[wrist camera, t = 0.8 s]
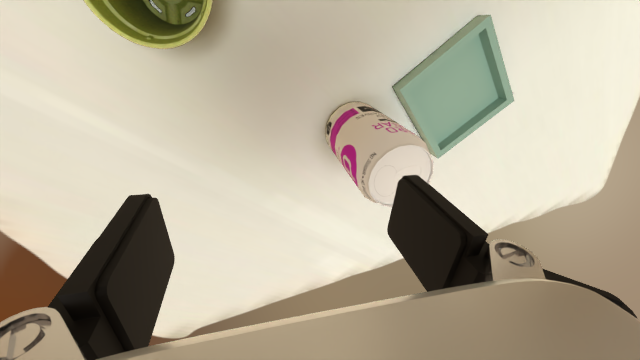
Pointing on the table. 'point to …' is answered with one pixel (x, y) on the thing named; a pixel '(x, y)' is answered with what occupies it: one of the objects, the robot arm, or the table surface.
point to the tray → (457, 87)
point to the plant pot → (153, 20)
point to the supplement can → (376, 150)
